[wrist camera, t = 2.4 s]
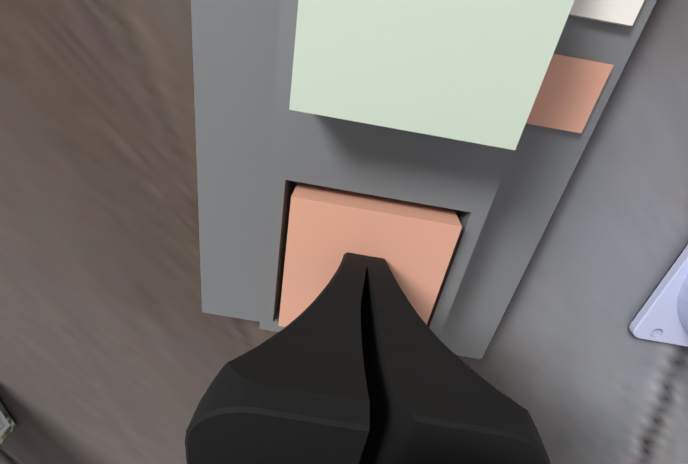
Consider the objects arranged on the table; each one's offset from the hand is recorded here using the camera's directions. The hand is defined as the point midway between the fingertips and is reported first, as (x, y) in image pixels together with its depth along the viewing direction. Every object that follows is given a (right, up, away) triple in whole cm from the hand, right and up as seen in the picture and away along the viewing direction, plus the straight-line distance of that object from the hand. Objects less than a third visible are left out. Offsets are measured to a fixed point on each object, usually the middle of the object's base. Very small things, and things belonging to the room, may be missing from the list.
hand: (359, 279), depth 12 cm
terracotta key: (0, +1, +2) cm, 2 cm away
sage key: (+1, +7, -3) cm, 8 cm away
